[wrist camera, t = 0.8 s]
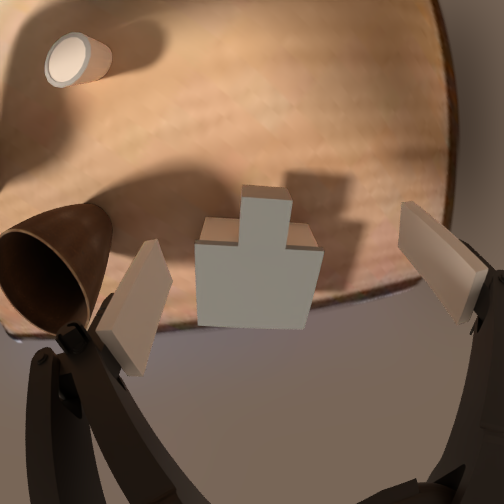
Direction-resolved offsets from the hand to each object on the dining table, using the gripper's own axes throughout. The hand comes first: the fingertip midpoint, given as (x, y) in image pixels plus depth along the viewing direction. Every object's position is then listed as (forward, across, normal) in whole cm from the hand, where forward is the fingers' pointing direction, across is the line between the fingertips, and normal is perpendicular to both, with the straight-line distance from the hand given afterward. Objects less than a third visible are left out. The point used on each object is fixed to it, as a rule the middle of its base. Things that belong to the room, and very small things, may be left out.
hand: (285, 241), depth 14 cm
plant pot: (+22, -27, -5) cm, 35 cm away
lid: (+17, -3, -12) cm, 21 cm away
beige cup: (+22, -19, +18) cm, 35 cm away
